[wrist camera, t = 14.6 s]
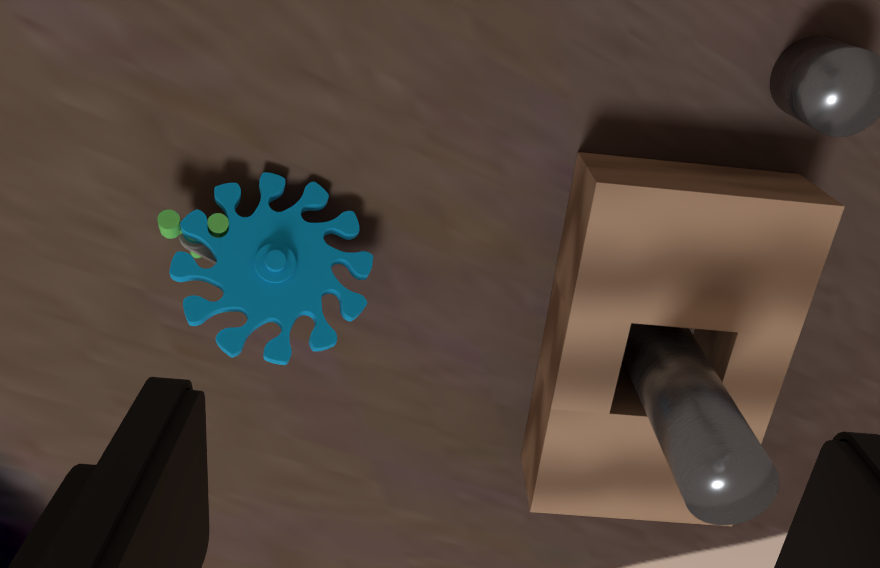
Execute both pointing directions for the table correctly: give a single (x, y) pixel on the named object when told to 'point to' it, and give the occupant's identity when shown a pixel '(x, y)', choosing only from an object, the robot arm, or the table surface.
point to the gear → (267, 265)
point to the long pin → (699, 427)
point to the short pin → (828, 85)
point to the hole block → (664, 317)
